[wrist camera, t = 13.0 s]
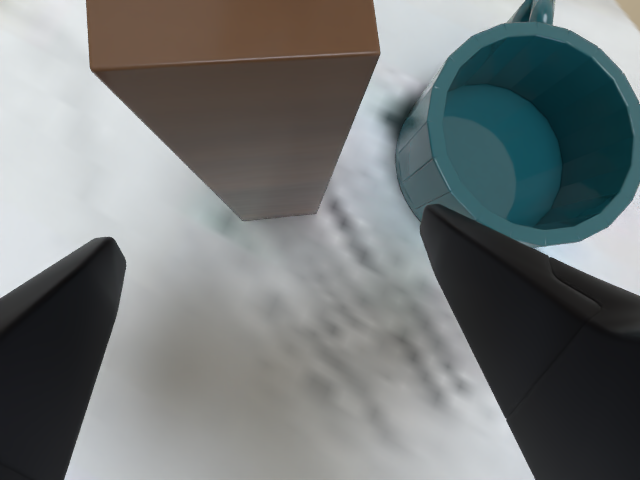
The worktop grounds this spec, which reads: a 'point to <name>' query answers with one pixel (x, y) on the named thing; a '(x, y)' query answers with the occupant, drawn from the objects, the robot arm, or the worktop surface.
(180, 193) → the worktop surface
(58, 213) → the worktop surface
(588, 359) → the robot arm
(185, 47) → the block
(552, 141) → the teal mug
